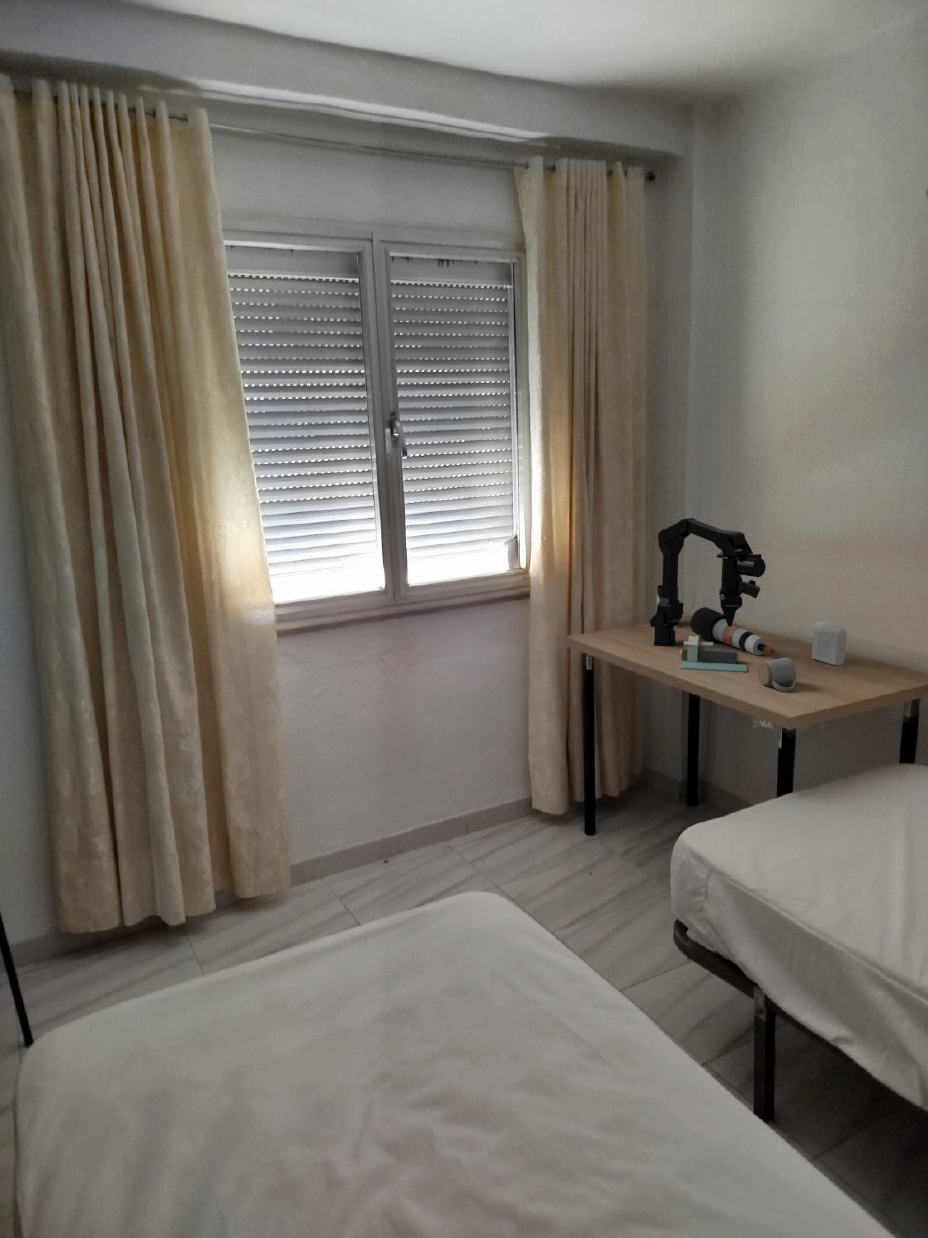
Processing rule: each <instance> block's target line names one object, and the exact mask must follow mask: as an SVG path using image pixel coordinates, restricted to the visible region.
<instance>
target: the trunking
mask: <svg viewBox="0 0 928 1238" xmlns="http://www.w3.org/2000/svg"><path fill="white" fill-rule="evenodd" d="M684 646H688V640H684V641H683V647H684ZM698 647H705V648H714V642H712V641H699V642H698Z"/></svg>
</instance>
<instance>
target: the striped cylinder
mask: <svg viewBox="0 0 928 1238" xmlns="http://www.w3.org/2000/svg"><path fill="white" fill-rule="evenodd" d="M690 618H691V619H690V629H691V631H692V632H693V633H694V634H696V636H699V637H702V638H704V639H707V640H708V641H709V642H713V643H715V644H719V643H721V644H722V643H724V644H727V645H730V646H731V647H734V648H738V649H740V650H742V651H745V652H747V653H750V654H752V655H755V656H759V655H760V656H761V655H763V654H767V655H770V656H772V655H774V654H775V651H776V650H775V649H774V648H771V647H770V646H768V640H767V639H766V638H763V637H762V636H759V635H758V634H756V633H754V632H752V631H750V630H747V629H746V628H744V627H743V626H740V625H738V624H736V623H734V622H733V624H732V626H728V625H727V622H726V619H725V616H724V614H723V612H722V613H721V612H719V611H717V610H714V609H711V608H709V607H705V606H703V607H700V608H699V609H696V611H694V613H693V615H692V617H690Z"/></svg>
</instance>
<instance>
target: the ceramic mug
mask: <svg viewBox="0 0 928 1238" xmlns="http://www.w3.org/2000/svg"><path fill="white" fill-rule="evenodd" d="M757 666H758V667H757V677H758V680H759V682H760V684H762V685H763V686H764V687H774V688H775V690H778V691H779V692H783V693H784V692H785V693H790V692H792V691H794V689H795V687H796V682H795V681H796V679H797V670H796V666H795V664H794V662H793V660H792V659H790V657H781V658H777V659H776V658H775V659H769V660H765V661H762V662H761V663H759V665H757ZM785 686H789V687H785Z"/></svg>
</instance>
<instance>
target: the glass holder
mask: <svg viewBox="0 0 928 1238" xmlns="http://www.w3.org/2000/svg"><path fill="white" fill-rule="evenodd" d="M656 589H657V591H656V609H655V610H656V611H657V605H658V603H659V602H660V600H661V598H662V584H661V585H660V584H659V585H657V588H656ZM688 592H689V593H691V594H692V595H693V601H692V605H691V606H690V608H689V609H688V610H687V611H686V612H685V613H684V614H683V615H682V618H683V617H684V616H686V615H687V614H688V613H689V612H691V611H692V608H693V607H694V604H695V602H696V601H695V599H696V596H695V593H694V592H693V591H691V590H686V591H684V592H683V594H682V596H681V600H679V601H680V603H683V600H684V598H685V597H684V596H685V594H686V593H688ZM677 598H678V599H679V585H678V586H677ZM679 627H680V626H679V624H678V625H677V626H674V629H677V628H679Z"/></svg>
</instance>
